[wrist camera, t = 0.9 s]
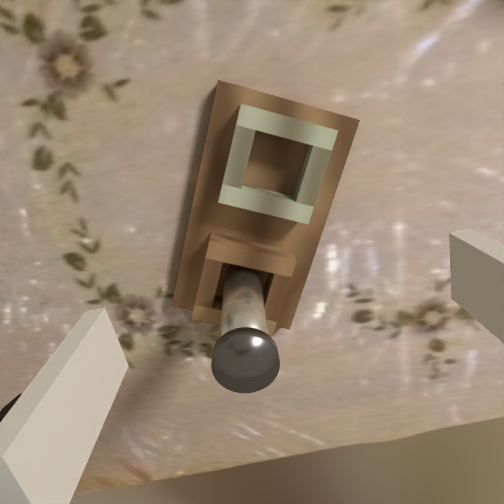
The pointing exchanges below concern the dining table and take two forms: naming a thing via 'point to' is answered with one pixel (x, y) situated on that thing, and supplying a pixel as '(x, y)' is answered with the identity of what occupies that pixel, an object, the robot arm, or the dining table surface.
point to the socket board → (253, 227)
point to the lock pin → (244, 335)
